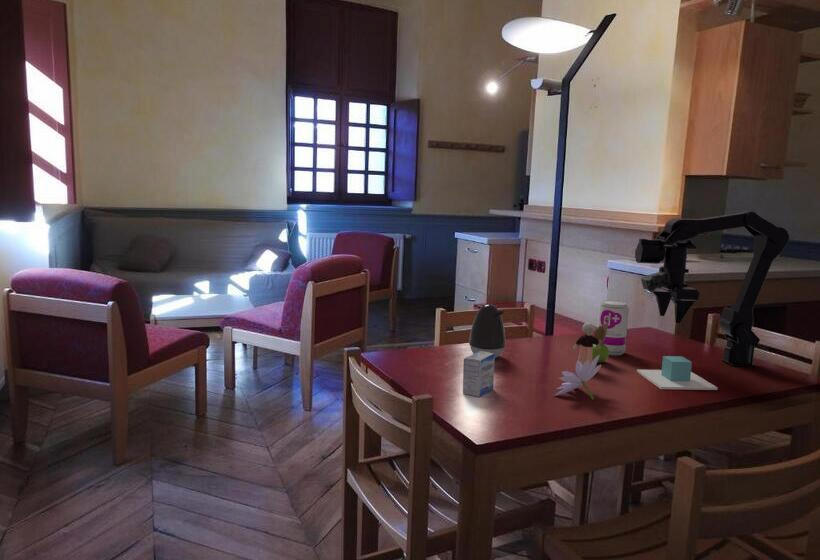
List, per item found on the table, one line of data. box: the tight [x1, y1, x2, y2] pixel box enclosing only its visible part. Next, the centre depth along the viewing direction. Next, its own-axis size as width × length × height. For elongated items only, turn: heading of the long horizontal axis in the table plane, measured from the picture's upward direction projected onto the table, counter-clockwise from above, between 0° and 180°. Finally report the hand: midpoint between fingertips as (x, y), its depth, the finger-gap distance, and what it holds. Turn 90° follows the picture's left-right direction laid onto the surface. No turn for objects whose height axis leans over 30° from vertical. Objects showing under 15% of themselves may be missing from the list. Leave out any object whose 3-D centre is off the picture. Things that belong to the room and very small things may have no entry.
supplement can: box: [597, 299, 630, 357], centre depth 176 cm, size 8×8×15 cm
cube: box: [661, 355, 693, 381], centre depth 151 cm, size 5×5×5 cm
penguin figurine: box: [468, 303, 507, 359], centre depth 168 cm, size 10×10×15 cm
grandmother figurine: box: [572, 321, 601, 366], centre depth 159 cm, size 8×4×13 cm, turn 112°
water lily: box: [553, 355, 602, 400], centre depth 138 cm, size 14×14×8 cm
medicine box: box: [462, 351, 496, 398], centre depth 139 cm, size 8×4×9 cm, turn 148°
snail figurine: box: [592, 318, 610, 363], centre depth 166 cm, size 5×6×12 cm
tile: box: [636, 369, 719, 391], centre depth 152 cm, size 14×14×1 cm
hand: (669, 319), depth 168 cm, fingers open, 9 cm apart
